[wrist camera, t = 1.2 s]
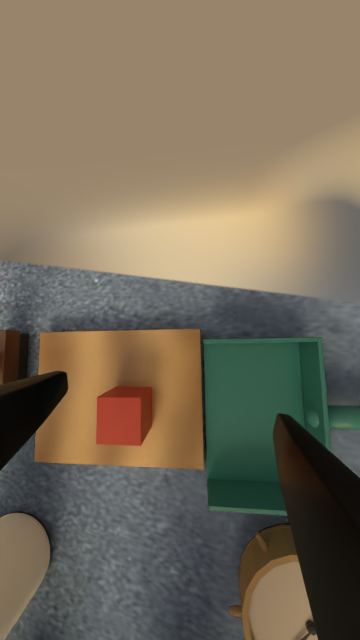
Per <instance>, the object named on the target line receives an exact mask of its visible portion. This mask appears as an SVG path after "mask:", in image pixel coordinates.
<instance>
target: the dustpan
mask: <svg viewBox="0 0 360 640" xmlns="http://www.w3.org/2000/svg"><path fill="white" fill-rule="evenodd" d="M299 345H300V351H299ZM203 350H204V386H205V422H206V458H207V489H208V510H209V511H222V512H238V513H253V514H269V515H284V516H287V512H286V508H285V504H284V500H283V496H282V492H281V487H280V483H279V477H278V471H277V463H276V456H275V449H274V442H273V429H274V424H275V420H276V416H277V414H278V413H282V414H287V415H290V416H292V417H293V418H294V419H295V420H296V421H297V422H298V423H299V424H300V425H301V426H303V427H304V428H305V429H306V430H307V431H308V432H309V433H310V434H311V435H313V436H314V437H315V438H316V439H317V440H318V441H319V442H320V443H321V444H322V445H324V446H325V447H326V448H327V449H328V450H329V451H330V452H331V443H330V430H329V429H340V430H360V406H329V405H327V394H326V381H325V369H324V357H323V345H322V337H302V338H244V339H203ZM300 359H301V365H300ZM301 373H302V379H301ZM302 387H303V393H302ZM303 401H304V407H303ZM304 415H305V421H304Z"/></svg>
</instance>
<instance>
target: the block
mask: <svg viewBox="0 0 360 640" xmlns="http://www.w3.org/2000/svg"><path fill="white" fill-rule="evenodd" d="M151 427H152V387H114V388H112V389H111V390H109V391H107V392H105V393H103V394H102V395H100V396H98V397H97V426H96V444H98V445H127V446H141V445H142V443H143V442H144V440H145V438H146V436H147V434H148V433H149V431H150V429H151Z"/></svg>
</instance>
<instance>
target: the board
mask: <svg viewBox="0 0 360 640" xmlns="http://www.w3.org/2000/svg"><path fill="white" fill-rule="evenodd" d="M57 370H58V371H64V372H66V373H67V377H68V391H67V393H66V395H65V396H64V397H63V399H62V400H61V401H60V403H59V404H58V405H57V406H56V408H55V409H54V410H53V412H52V413H51V414H50V415H49V417H48V418H47V419H46V421H45V422H44V423H43V424H42V425H41V426H40V428H39V429H38V430H37V431H36V438H35V460H34V462H47V463H69V464H91V465H113V466H135V467H158V468H180V469H202V470H204V453H203V415H202V377H201V340H200V329H164V330H120V331H75V332H40V351H39V372H38V375H41V374H45V373H49V372H52V371H57ZM114 387H152V427H151V429H150V431H149V433H148V434H147V436H146V438H145V440H144V442H143V443H142V445H141V446H127V445H98V444H96V426H97V397H98V396H100V395H102V394H103V393H105V392H107V391H109V390H111V389H112V388H114Z"/></svg>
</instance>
